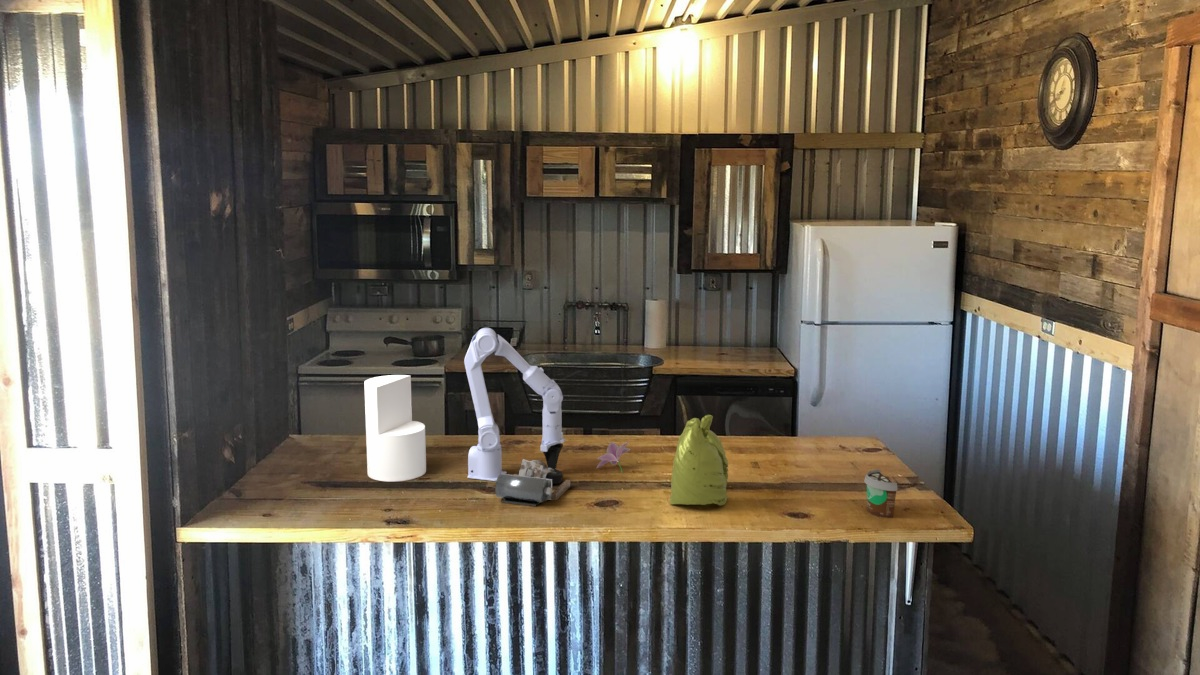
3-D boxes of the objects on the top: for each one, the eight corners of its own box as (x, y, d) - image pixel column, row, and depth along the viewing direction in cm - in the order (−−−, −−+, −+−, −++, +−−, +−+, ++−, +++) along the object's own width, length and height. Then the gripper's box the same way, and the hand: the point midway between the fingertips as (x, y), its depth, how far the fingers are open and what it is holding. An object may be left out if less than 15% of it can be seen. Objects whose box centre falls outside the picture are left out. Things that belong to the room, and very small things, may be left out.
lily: (636, 468, 283) (625, 439, 285) (641, 465, 271) (630, 435, 273) (600, 482, 281) (589, 453, 283) (604, 479, 269) (592, 449, 271)
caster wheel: (563, 487, 269) (551, 493, 260) (528, 475, 272) (516, 481, 263) (568, 466, 269) (557, 471, 259) (534, 454, 272) (521, 459, 262)
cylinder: (355, 476, 269) (351, 384, 264) (389, 460, 285) (386, 372, 280) (404, 484, 263) (402, 390, 258) (437, 467, 279) (435, 378, 274)
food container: (855, 503, 251) (857, 469, 249) (877, 503, 251) (879, 468, 250) (872, 520, 239) (875, 484, 237) (895, 520, 239) (897, 483, 237)
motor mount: (488, 501, 250) (487, 477, 248) (514, 480, 267) (513, 457, 266) (547, 509, 245) (547, 484, 244) (570, 486, 262) (570, 463, 261)
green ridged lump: (725, 514, 242) (728, 426, 238) (667, 510, 245) (669, 423, 241) (729, 483, 266) (732, 403, 262) (676, 480, 269) (678, 400, 265)
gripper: (556, 431, 262) (556, 476, 265) (572, 419, 276) (572, 462, 279) (533, 429, 264) (533, 474, 267) (550, 417, 278) (550, 460, 281)
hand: (552, 468), depth 273 cm, fingers closed
